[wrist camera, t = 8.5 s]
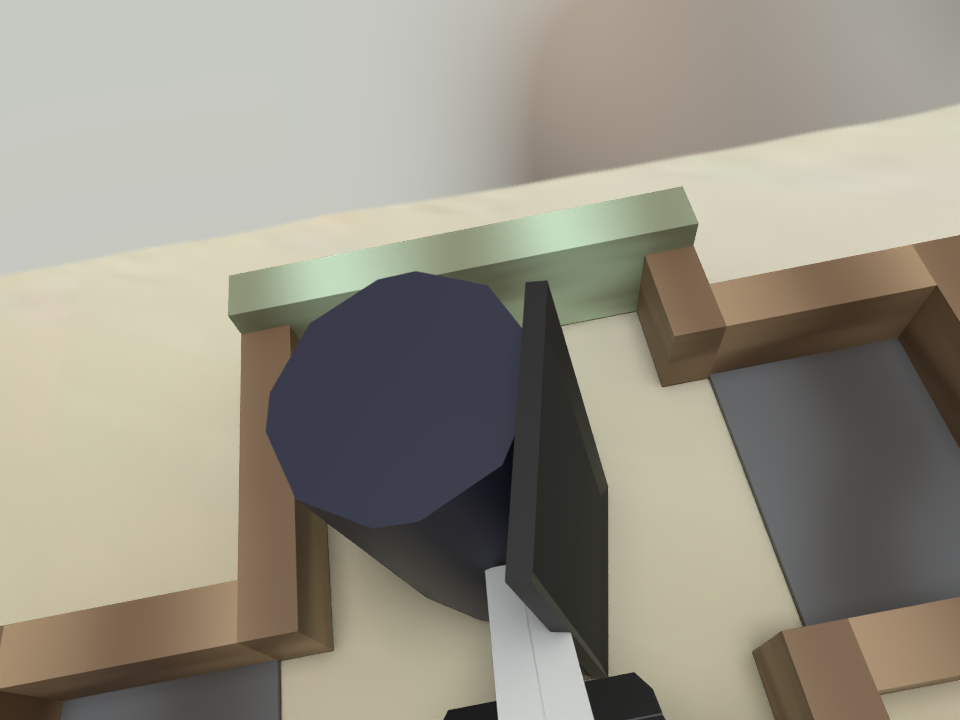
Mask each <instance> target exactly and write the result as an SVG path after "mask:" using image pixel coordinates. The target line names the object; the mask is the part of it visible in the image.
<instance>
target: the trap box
mask: <svg viewBox="0 0 960 720" xmlns="http://www.w3.org/2000/svg"><path fill="white" fill-rule="evenodd" d="M697 227H698V221H697V219H696V216H695V214H694V212H693V209H692V207H691V205H690V202H689V200H688V198H687V195H686V193H685V191H684V188H683V186H682V187H677V188H672V189H667V190H662V191H657V192H652V193H647V194H642V195H637V196H631V197H626V198H621V199H616V200H611V201H606V202H601V203H596V204H591V205H586V206H581V207H576V208H571V209H566V210H560V211H555V212H550V213H545V214H540V215H535V216H530V217H525V218H520V219H515V220H510V221H505V222H500V223H494V224H489V225H484V226H479V227H474V228H469V229H464V230H459V231H454V232H449V233H444V234H439V235H434V236H429V237H423V238H418V239H413V240H408V241H403V242H398V243H393V244H388V245H383V246H378V247H373V248H368V249H363V250H357V251H352V252H347V253H342V254H337V255H332V256H327V257H322V258H317V259H312V260H307V261H302V262H297V263H292V264H286V265H281V266H276V267H271V268H266V269H261V270H256V271H251V272H246V273H241V274H236V275H231V276H229V301H228V316H229V318H230V319H231V320H232V322H233V323H234V325H235V326H236V327H237V329H238V330H239V331H240V333H241V398H240V464H239V530H238V580H236V581H231V582H226V583H221V584H216V585H211V586H205V587H200V588H195V589H190V590H185V591H180V592H174V593H169V594H164V595H159V596H154V597H149V598H143V599H138V600H133V601H128V602H123V603H118V604H112V605H107V606H102V607H97V608H92V609H87V610H81V611H76V612H71V613H66V614H61V615H56V616H50V617H45V618H40V619H35V620H30V621H24V622H19V623H14V624H9V625H4V626H0V720H281V690H280V661H282V660H287V659H293V658H298V657H303V656H308V655H313V654H319V653H324V652H329V651H333V634H332V614H331V595H330V575H329V556H328V536H327V522H325V521H324V520H323V519H321V518H320V517H319V516H317V515H316V514H315V513H313V512H312V511H311V510H309V509H308V508H307V507H305V506H304V505H303V504H301V503H300V502H299V501H297V500H296V499H295V497H294V494H293V492H292V490H291V488H290V485H289V483H288V481H287V479H286V476H285V474H284V472H283V470H282V467H281V465H280V463H279V461H278V458H277V456H276V454H275V452H274V449H273V447H272V445H271V443H270V440H269V438H268V436H267V434H266V422H267V413H268V404H269V394H270V391H271V390H272V388H273V386H274V385H275V383H276V381H277V379H278V378H279V376H280V374H281V372H282V371H283V369H284V367H285V365H286V364H287V362H288V360H289V359H290V357H291V355H292V353H293V352H294V350H295V348H296V346H297V345H298V343H299V341H300V339H301V338H302V336H303V334H304V333H305V331H306V329H307V327H308V326H309V324H310V323H311V322H313V321H314V320H316V319H317V318H319V317H321V316H322V315H324V314H325V313H327V312H328V311H330V310H331V309H333V308H334V307H336V306H337V305H339V304H341V303H342V302H344V301H345V300H347V299H348V298H350V297H351V296H353V295H354V294H356V293H357V292H359V291H361V290H362V289H364V288H365V287H367V286H368V285H370V284H371V283H373V282H374V281H376V280H378V279H382V278H387V277H391V276H396V275H400V274H404V273H409V272H413V271H418V272H423V273H428V274H433V275H438V276H444V277H449V278H454V279H459V280H464V281H469V282H474V283H479V284H484V285H488V286H489V288H490V289H491V290H492V291H493V293H494V294H495V295H496V296H497V297H498V299H499V300H500V301H501V302H502V304H503V305H504V306H505V307H506V309H507V310H508V311H509V312H510V314H511V315H512V316H513V317H514V319H515V320H516V321H517V322H518V324H519V325H520V326H521V327H522V324H523V310H524V295H525V282H533V281H545V280H548V284H549V287H550V290H551V294H552V297H553V301H554V304H555V308H556V311H557V314H558V318H559V321H560V325H566V324H571V323H576V322H582V321H587V320H592V319H597V318H602V317H607V316H612V315H617V314H622V313H628V312H633V311H637V314H638V316H639V319H640V322H641V325H642V328H643V331H644V334H645V337H646V340H647V343H648V346H649V349H650V352H651V355H652V358H653V361H654V364H655V367H656V369H657V372H658V375H659V378H660V381H661V384H662V387H664V386H669V385H674V384H679V383H684V382H690V381H695V380H700V379H705V378H709V380H710V382H711V385H712V387H713V390H714V393H715V395H716V398H717V400H718V403H719V406H720V408H721V411H722V414H723V416H724V419H725V421H726V424H727V427H728V429H729V432H730V435H731V437H732V440H733V442H734V445H735V448H736V450H737V453H738V456H739V458H740V461H741V463H742V466H743V469H744V471H745V474H746V477H747V479H748V482H749V484H750V487H751V490H752V492H753V495H754V497H755V500H756V503H757V505H758V508H759V511H760V513H761V516H762V518H763V521H764V524H765V526H766V529H767V532H768V534H769V537H770V539H771V542H772V545H773V547H774V550H775V553H776V555H777V558H778V560H779V563H780V566H781V568H782V571H783V574H784V576H785V579H786V581H787V584H788V587H789V589H790V592H791V595H792V597H793V600H794V602H795V605H796V608H797V610H798V613H799V615H800V618H801V621H802V623H803V626H804V627H800V628H795V629H790V630H785V631H781V632H780V633H778V634H777V635H776V636H774V637H773V638H771V639H770V640H768V641H767V642H766V643H764V644H763V645H761V646H760V647H758V648H757V649H756V650H754V651H753V655H754V658H755V661H756V664H757V667H758V670H759V673H760V676H761V679H762V682H763V685H764V688H765V691H766V694H767V697H768V699H769V702H770V705H771V708H772V711H773V714H774V717H775V720H890V718H889V716H888V714H887V711H886V709H885V706H884V704H883V702H882V699H881V697H880V695H883V694H888V693H893V692H898V691H903V690H909V689H914V688H919V687H924V686H930V685H935V684H940V683H945V682H951V681H956V680H960V235H958V236H953V237H948V238H943V239H938V240H933V241H928V242H923V243H917V244H912V245H907V246H902V247H897V248H892V249H887V250H882V251H877V252H872V253H866V254H861V255H856V256H851V257H846V258H841V259H836V260H831V261H826V262H820V263H815V264H810V265H805V266H800V267H795V268H790V269H785V270H780V271H775V272H769V273H764V274H759V275H754V276H749V277H744V278H739V279H734V280H729V281H723V282H718V283H713V284H709V282H708V280H707V277H706V275H705V272H704V270H703V268H702V265H701V263H700V260H699V258H698V256H697V253H696V251H695V248H694V246H693V244H694V240H695V236H696V232H697Z"/></svg>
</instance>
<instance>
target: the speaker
mask: <svg viewBox="0 0 960 720" xmlns="http://www.w3.org/2000/svg"><path fill="white" fill-rule="evenodd" d="M266 434H267V436H268V438H269V440H270V443H271V445H272V447H273V449H274V452H275V454H276V456H277V458H278V461H279V463H280V465H281V467H282V470H283V472H284V474H285V476H286V479H287V481H288V483H289V485H290V488H291V490H292V492H293V494H294V497H295V499H296V500H297V501H299V502H300V503H301V504H303V505H304V506H305V507H307V508H308V509H309V510H311V511H312V512H313V513H315V514H316V515H317V516H319V517H320V518H321V519H323V520H324V521H325V522H327V523H328V524H329V525H331V526H332V527H333V528H335V529H336V530H337V531H339V532H340V533H341V534H343V535H344V536H345V537H347V538H348V539H349V540H351V541H352V542H353V543H355V544H356V545H357V546H359V547H360V548H361V549H363V550H364V551H365V552H367V553H368V554H369V555H371V556H372V557H373V558H375V559H376V560H377V561H379V562H380V563H381V564H383V565H384V566H385V567H387V568H388V569H389V570H391V571H392V572H393V573H395V574H396V575H397V576H399V577H400V578H401V579H403V580H404V581H405V582H407V583H408V584H409V585H411V586H412V587H413V588H415V589H416V590H417V591H419V592H420V593H421V594H423V595H424V596H425V597H427V598H429V599H432V600H434V601H436V602H439V603H441V604H444V605H446V606H448V607H451V608H453V609H456V610H458V611H461V612H463V613H465V614H468V615H470V616H473V617H475V618H477V619H480V620H489V610H488V599H487V588H486V576H485V570H488V569H490V568H492V567H497V566H502V565H506V570H505V583H506V584H507V585H508V586H509V587H510V588H511V589H512V590H513V592H514V593H515V594H516V595H517V596H518V597H519V598H520V599H521V600H522V601H523V602H524V604H525V605H526V606H527V607H528V608H529V609H530V610H531V611H532V612H533V613H534V615H535V616H536V617H537V618H538V619H539V620H540V621H541V622H542V623H543V624H544V625H545V627H546V628H547V629H548V630H549V631H550V632H570V633H571V636H572V639H573V643H574V647H575V650H576V654H577V658H578V662H579V664H580V665H581V666H582V667H583V668H584V669H585V670H586V671H587V673H588V674H589V675H590V676H591V677H592V678H596V679H602V678H607V677H608V485H607V482H606V478H605V475H604V471H603V468H602V464H601V461H600V458H599V454H598V451H597V447H596V444H595V441H594V437H593V434H592V430H591V427H590V424H589V420H588V417H587V413H586V410H585V406H584V403H583V400H582V396H581V393H580V389H579V386H578V383H577V379H576V376H575V372H574V369H573V366H572V362H571V359H570V355H569V352H568V348H567V345H566V342H565V338H564V335H563V331H562V328H561V325H560V321H559V318H558V314H557V311H556V308H555V304H554V301H553V297H552V294H551V290H550V287H549V284H548V280H545V281H533V282H525V295H524V310H523V324H522V327H521V326H520V325H519V324H518V322H517V321H516V320H515V319H514V317H513V316H512V315H511V314H510V312H509V311H508V310H507V309H506V307H505V306H504V305H503V304H502V302H501V301H500V300H499V299H498V297H497V296H496V295H495V294H494V293H493V291H492V290H491V289H490V288H489V286H488V285H484V284H479V283H474V282H469V281H464V280H459V279H454V278H449V277H444V276H438V275H433V274H428V273H423V272H418V271H413V272H409V273H404V274H400V275H396V276H391V277H387V278H382V279H378V280H376V281H374V282H373V283H371V284H370V285H368V286H367V287H365V288H364V289H362V290H361V291H359V292H357V293H356V294H354V295H353V296H351V297H350V298H348V299H347V300H345V301H344V302H342V303H341V304H339V305H337V306H336V307H334V308H333V309H331V310H330V311H328V312H327V313H325V314H324V315H322V316H321V317H319V318H317V319H316V320H314V321H313V322H311V323H310V324H309V326H308V327H307V329H306V331H305V333H304V334H303V336H302V338H301V339H300V341H299V343H298V345H297V346H296V348H295V350H294V352H293V353H292V355H291V357H290V359H289V360H288V362H287V364H286V365H285V367H284V369H283V371H282V372H281V374H280V376H279V378H278V379H277V381H276V383H275V385H274V386H273V388H272V390H271V391H270V394H269V404H268V413H267V422H266Z"/></svg>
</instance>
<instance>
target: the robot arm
mask: <svg viewBox="0 0 960 720" xmlns="http://www.w3.org/2000/svg"><path fill="white" fill-rule="evenodd" d="M505 570H506V565H502V566H497V567H492V568H490V569H488V570H485V576H486V588H487V599H488V610H489V622H490V633H491V644H492V655H493V667H494V678H495V689H496V701H494V702H489V703H483V704H478V705H473V706H468V707H463V708H458V709H452V710H448V712H447V714H446V716H445V718H444V720H665V718H664V716H663V715H662V711H661V708H660V706H659V703H658V701H657V698H656V696H655V693H654V691H653V689H652V688H651V687H650V686H649V685H648V684H647V683H645V682H644V681H643V680H642V679H641V678H640V677H639V676H638V675H637V674H636V673H634V672H633V673H628V674H623V675H618V676H612V677H607V678H602V679H597V680H592V681H587V682H584V680H583V677H582V673H581V669H580V665H579V662H578V658H577V654H576V650H575V647H574V643H573V639H572V636H571V633H570V632H550V631H549V630H548V629H547V628H546V627H545V625H544V624H543V623H542V622H541V621H540V620H539V619H538V618H537V617H536V616H535V615H534V613H533V612H532V611H531V610H530V609H529V608H528V607H527V606H526V605H525V604H524V602H523V601H522V600H521V599H520V598H519V597H518V596H517V595H516V594H515V593H514V592H513V590H512V589H511V588H510V587H509V586H508V585H507V584H506V583H505Z"/></svg>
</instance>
